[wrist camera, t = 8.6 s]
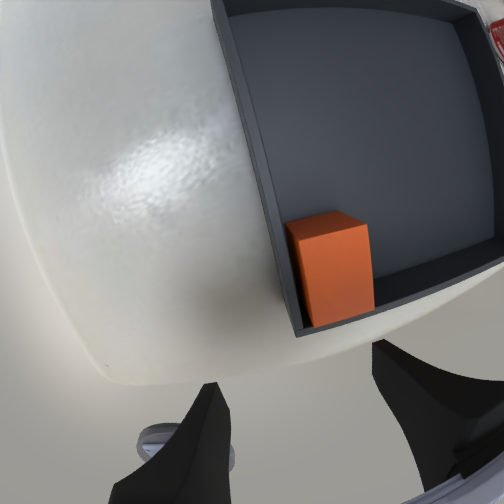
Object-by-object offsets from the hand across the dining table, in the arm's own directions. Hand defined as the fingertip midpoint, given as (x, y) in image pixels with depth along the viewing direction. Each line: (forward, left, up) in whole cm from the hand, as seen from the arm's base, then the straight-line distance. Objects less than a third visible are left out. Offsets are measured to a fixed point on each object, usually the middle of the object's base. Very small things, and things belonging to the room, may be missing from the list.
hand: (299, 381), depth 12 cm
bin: (+10, -12, -10) cm, 19 cm away
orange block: (+2, -4, -10) cm, 11 cm away
